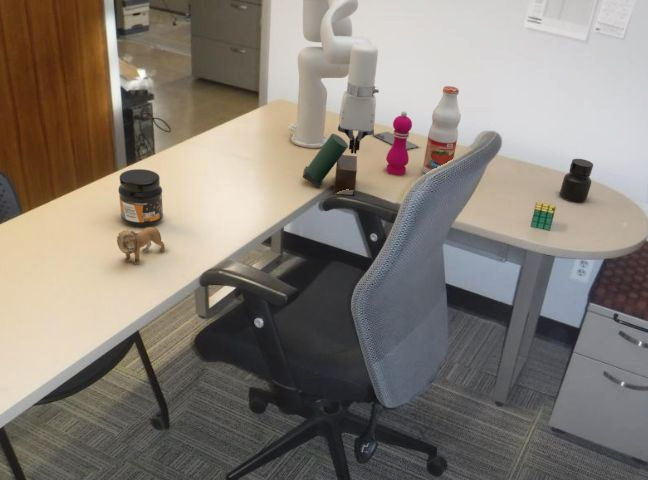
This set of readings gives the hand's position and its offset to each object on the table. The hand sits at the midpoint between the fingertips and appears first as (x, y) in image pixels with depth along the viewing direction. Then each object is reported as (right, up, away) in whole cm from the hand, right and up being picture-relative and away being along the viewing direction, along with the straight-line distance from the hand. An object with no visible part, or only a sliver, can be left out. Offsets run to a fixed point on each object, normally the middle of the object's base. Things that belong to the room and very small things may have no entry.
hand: (353, 151), depth 213 cm
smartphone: (+14, +14, +46) cm, 50 cm away
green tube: (-9, -9, +5) cm, 14 cm away
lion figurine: (-49, -36, -44) cm, 74 cm away
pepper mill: (+13, -2, +22) cm, 25 cm away
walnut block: (-3, -9, +6) cm, 12 cm away
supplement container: (-54, -24, -27) cm, 65 cm away
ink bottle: (+71, -10, +22) cm, 75 cm away
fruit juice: (+27, -1, +25) cm, 37 cm away
